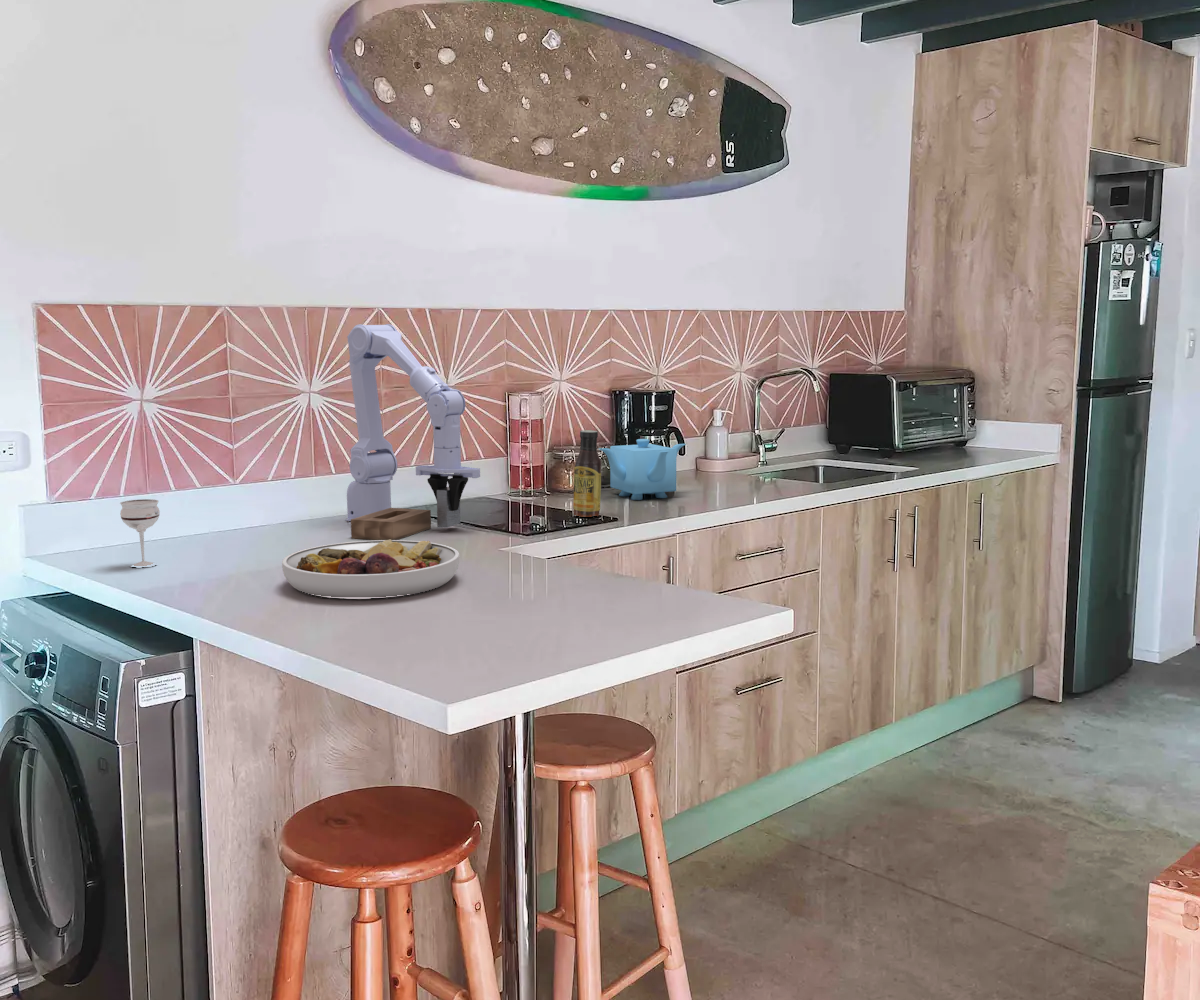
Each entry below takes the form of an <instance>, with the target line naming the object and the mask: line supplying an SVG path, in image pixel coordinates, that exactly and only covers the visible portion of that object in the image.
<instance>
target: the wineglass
mask: <svg viewBox="0 0 1200 1000" xmlns="http://www.w3.org/2000/svg"><path fill="white" fill-rule="evenodd" d="M158 503H159V500H158V499H151V498H150V499H149V498H148V499H146V498H141V499H131V500H124V501H121V502H120V503H119V504H120V505H121V507H122V508H121V510H120V519H121V520H122V522H123V523H124V524H125V525H126V526H127V527H129V528H130V529H133V530H135V531H136V532H137V533H138V535H139V542H140V543H139V545H140V551H141V561H138V562H136V563H134V564H132V565H134V566H147V565H151V564H153V563H154V562H151V561H146V560H145V532H146V531H147V530H148V529H149V528H150V527H151V528H152V527H153V526H154V525H155V524H156V523H157V522H158V520H159V518H160V512H161V511H160V508H159V506H158Z"/></svg>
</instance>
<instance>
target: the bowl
mask: <svg viewBox="0 0 1200 1000" xmlns="http://www.w3.org/2000/svg"><path fill="white" fill-rule="evenodd" d="M281 564H282V572H283V575H284V578H285V579H286V581H287V582H288V584H289V585H290V586H292V588H294V589H296V590H297V591H299V592H301V591H302V592H301V593H303V592H305V593H304V594H306V593H309V594H314V595H321V596H331V597H386V596H397V595H407V594H414V595H416V594H415V593H419V594H421V593H420V592H423V593H426V592H425V591H427V592H430V591H432V589H433V590H436V589H438V588H439V587H442V586H445V584H447V583H448V582H449V581H450V580H451V579H452V578H454V576H455V575H456V573H457V571H458V569H459V565H460V552H459V550H457V549H455V548H454V547H451V546H448V545H445V544H441V543H435V542H430V541H429V540H427V541H426V540H421V541H420V540H405V539H399V540H391V539H389V540H358V541H347V542H337V543H330V544H324V545H323V544H322V545H317V546H312V547H309V548H305V549H301V550H298V551H295V552H292V553H290V554H288V555H286V556H285V557H283V559H282V562H281ZM435 588H436V589H435ZM429 590H430V591H429ZM309 594H308V595H309Z"/></svg>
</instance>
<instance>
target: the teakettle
mask: <svg viewBox="0 0 1200 1000" xmlns="http://www.w3.org/2000/svg"><path fill="white" fill-rule="evenodd" d="M635 441H636V444H624V445H611V446H609V447H610V448H606V447H605V448H604V447H603V448H600V447H599V448H598V450H599V451H601V452H603V453H604V454H605V455H606V457H607V460H608V464H609V468H610V469H609V470H610V474H609V475H610V477H609V479H610V483H609V484H610V485H609V486H610V487H609V488H612V489H616V490H619V491H620V492H619V494H618V496H619V497H629V496H631V497H630V500H632V501H641V500H643V495H655V498H658V499H667V498H668V495H667V494H666V493H668V492H677V456H678V453H679V451H680V449H681V448H682V447H684V446H686V445H687V443H677V444H674V445H673V446H672V447H669V446H662V445H660V444H659V445H658V444H654V443H653V444H652V443H650V439H648V438H638V439H636V440H635ZM631 494H632V495H631Z"/></svg>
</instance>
